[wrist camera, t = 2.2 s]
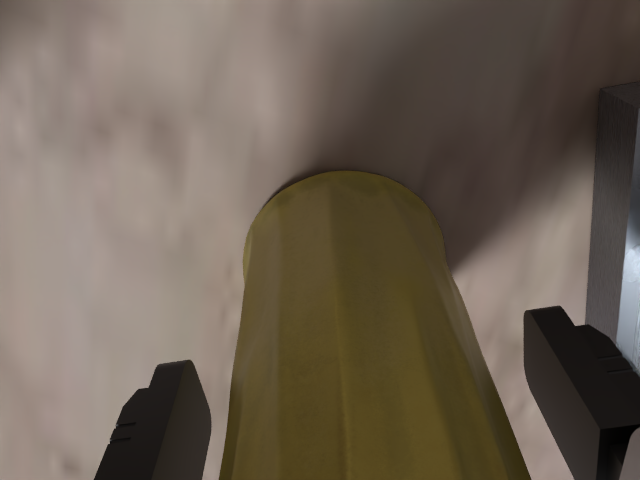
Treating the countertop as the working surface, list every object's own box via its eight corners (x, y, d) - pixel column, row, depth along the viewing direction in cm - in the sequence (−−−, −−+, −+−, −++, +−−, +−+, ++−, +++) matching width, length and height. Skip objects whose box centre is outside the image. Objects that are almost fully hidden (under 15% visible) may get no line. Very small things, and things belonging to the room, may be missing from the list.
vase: (201, 251, 17) (-92, 1123, 5) (360, 122, 15) (607, 970, 3) (330, 369, 19) (374, 1170, 7) (481, 268, 18) (921, 1098, 5)
